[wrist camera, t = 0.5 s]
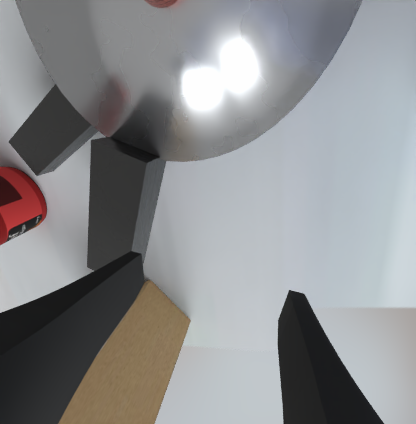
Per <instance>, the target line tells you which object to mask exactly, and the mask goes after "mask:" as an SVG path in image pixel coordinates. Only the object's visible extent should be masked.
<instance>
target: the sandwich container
mask: <svg viewBox="0 0 416 424" xmlns="http://www.w3.org/2000/svg"><path fill="white" fill-rule="evenodd" d="M190 321H191V320H190V319H189V318H188V317H187V316H186V315H185V314H184V313H183V312H182V311H181V310H180V309H179V308H178V307H177V306H176V305H175V304H174V303H173V302H172V301H171V300H170V299H169V298H168V297H167V296H166V295H165V294H164V293H163V292H162V291H161V290H160V289H159V288H158V287H157V286H156V285H155V284H154V283H153V282H152V281H151V280H148V281H146V282H144V285H143V287H142V288H141V290H140V292H139V294H138V296H137V298H136V299H135V301H134V303H133V304H132V306H131V307H130V309H129V310H128V311H127V313H126V314H125V316H124V317H123V318H122V320H121V321H120V323H119V324H118V325H117V327H116V328H115V330H114V331H113V332H112V334H111V335H110V337H109V338H108V339H107V341H106V342H105V344H104V345H103V347H102V348H101V350H100V351H99V353H98V354H97V356H96V358H95V359H94V361H93V363H92V364H91V366H90V368H89V369H88V371H87V373H86V374H85V376H84V378H83V380H82V381H81V383H80V385H79V387H78V389H77V390H76V392H75V394H74V396H73V397H72V399H71V401H70V403H69V405H68V406H67V408H66V410H65V412H64V414H63V416H62V418H61V420H60V421H59V423H58V424H154V423H155V421H156V418H157V415H158V412H159V409H160V406H161V404H162V401H163V398H164V395H165V392H166V390H167V387H168V384H169V381H170V378H171V375H172V372H173V370H174V367H175V364H176V361H177V359H178V356H179V353H180V350H181V347H182V344H183V341H184V338H185V336H186V333H187V330H188V327H189V324H190Z"/></svg>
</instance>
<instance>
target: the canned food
mask: <svg viewBox="0 0 416 424" xmlns="http://www.w3.org/2000/svg"><path fill="white" fill-rule="evenodd" d="M46 213H47V207H46V202H45V199H44V197H43V194H42V192H41V191H40V189H39V188H38V186H37V185H36V184H35V182H34V181H33V180H32V179H31V178H30V177H28V176H27V175H26V174H25V173H23V172H22V171H20V170H18V169H15V168H12V167H0V245H1V244H3V243H5V242H7V241H9V240H11V239H13V238H15V237H17V236H19V235H21V234H23V233H25V232H27V231H29V230H31V229H33V228H34V227H36V226H38V225H39V224H40V223H41V222H42V221H43V220H44V219H45V217H46Z"/></svg>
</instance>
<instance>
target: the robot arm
mask: <svg viewBox="0 0 416 424" xmlns="http://www.w3.org/2000/svg"><path fill="white" fill-rule="evenodd" d="M143 285H144V274H143V262H142V254H141V253H137V252H133V251H130V252H128V253H126V254H124V255H123V256H121V257H119V258H117V259H115V260H114V261H112V262H110V263H108V264H107V265H105V266H103V267H101V268H99V269H98V270H96V271H94V272H92V273H90V274H88V275H87V276H85V277H83V278H81V279H79V280H77V281H75V282H73V283H71V284H69V285H67V286H65V287H63V288H61V289H59V290H56V291H54V292H52V293H50V294H47V295H45V296H43V297H40V298H38V299H36V300H33V301H31V302H29V303H26V304H23V305H21V306H18V307H15V308H13V309H10V310H7V311H5V312H2V313H0V424H58V423H59V421H60V420H61V418H62V416H63V414H64V412H65V410H66V408H67V406H68V405H69V403H70V401H71V399H72V397H73V396H74V394H75V392H76V390H77V389H78V387H79V385H80V383H81V381H82V380H83V378H84V376H85V374H86V373H87V371H88V369H89V368H90V366H91V364H92V363H93V361H94V359H95V358H96V356H97V354H98V353H99V351H100V350H101V348H102V347H103V345H104V344H105V342H106V341H107V339H108V338H109V337H110V335H111V334H112V332H113V331H114V330H115V328H116V327H117V325H118V324H119V323H120V321H121V320H122V318H123V317H124V316H125V314H126V313H127V311H128V310H129V309H130V307H131V306H132V304H133V303H134V301H135V299H136V298H137V296H138V294H139V292H140V290H141V288H142V287H143ZM278 354H279V366H280V378H281V390H282V402H283V419H284V424H384V423H383V421H382V420H381V419H380V417H379V416H378V415H377V413H376V412H375V410H374V409H373V408H372V406H371V405H370V403H369V402H368V400H367V399H366V398H365V396H364V395H363V393H362V392H361V390H360V389H359V387H358V386H357V385H356V383H355V381H354V380H353V378H352V377H351V375H350V374H349V372H348V370H347V369H346V367H345V366H344V364H343V363H342V361H341V359H340V358H339V356H338V355H337V353H336V351H335V349H334V348H333V346H332V344H331V343H330V341H329V339H328V337H327V336H326V334H325V332H324V330H323V328H322V327H321V325H320V323H319V321H318V319H317V317H316V316H315V314H314V312H313V310H312V308H311V306H310V304H309V302H308V300H307V298H306V296H305V295H304V294H303V293H299V292H295V291H291V290H289V292H288V295H287V298H286V301H285V303H284V306H283V309H282V312H281V314H280V317H279V320H278Z"/></svg>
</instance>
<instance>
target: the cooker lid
mask: <svg viewBox="0 0 416 424" xmlns="http://www.w3.org/2000/svg"><path fill="white" fill-rule="evenodd" d="M15 1H16V4H17V7H18V9H19V12H20V14H21V17H22V20H23V22H24V25H25V27H26V30H27V32H28V34H29V37H30V39H31V41H32V43H33V45H34V47H35V49H36V51H37V53H38V55H39V57H40V59H41V61H42V62H43V64H44V66H45V68H46V69H47V71H48V73H49V75H50V76H51V78H52V79H53V80H54V82H55V83H56V85H57V86H58V88H59V89H60V91H61V92H62V94H63V95H64V96H65V97H66V98H67V100H68V101H69V102H70V103H71V104H72V106H73V107H74V108H75V109H76V110H77V111H78V112H79V113H80V114H81V115H82V116H83V117H84V118H85V119H86V120H87V121H88V122H89V123H90V124H91V125H92V126H93V127H95V128H96V129H97V130H98V131H100V132H101V133H102V134H103V135H105V136H106V137H105V138H100V139H95V140H91V165H90V196H89V227H88V258H87V267H88V268H90V269H92V270H95V271H96V270H98V269H99V268H101V267H103V266H105V265H107V264H108V263H110V262H112V261H114V260H115V259H117V258H119V257H121V256H123V255H124V254H126V253H128V252H130V251H133V252H137V253H141V254H142V262H143V263H144V258H145V254H146V249H147V245H148V240H149V236H150V231H151V227H152V223H153V218H154V214H155V209H156V205H157V200H158V196H159V191H160V187H161V182H162V178H163V173H164V169H165V164H166V161H180V162H186V161H197V160H204V159H208V158H213V157H217V156H220V155H223V154H226V153H228V152H231V151H233V150H236V149H238V148H240V147H242V146H244V145H246V144H247V143H249V142H251V141H253V140H255V139H256V138H258V137H259V136H261V135H262V134H263V133H265V132H266V131H268V130H269V129H270V128H272V127H273V126H275V125H276V124H277V123H278V122H279V121H280V120H281V119H282V118H283V117H285V116H286V115H287V114H288V113H289V112H290V111H291V110H292V109H293V108H294V107H295V106H296V105H297V104H298V103H299V102H300V100H301V99H302V98H303V97H304V96H305V95H306V94H307V93H308V91H309V90H310V89H311V88H312V87H313V85H314V84H315V83H316V81H317V80H318V78H319V77H320V76H321V74H322V73H323V71H324V70H325V69H326V67H327V66H328V64H329V63H330V62H331V60H332V58H333V57H334V55H335V53H336V51H337V50H338V48H339V46H340V45H341V43H342V41H343V39H344V38H345V36H346V34H347V32H348V31H349V29H350V27H351V24H352V22H353V20H354V18H355V16H356V13H357V11H358V9H359V7H360V5H361V2H362V0H15Z"/></svg>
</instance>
